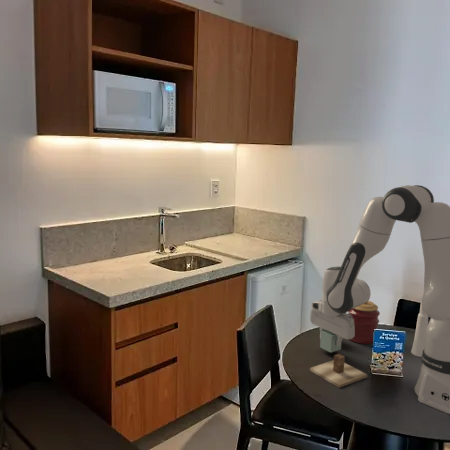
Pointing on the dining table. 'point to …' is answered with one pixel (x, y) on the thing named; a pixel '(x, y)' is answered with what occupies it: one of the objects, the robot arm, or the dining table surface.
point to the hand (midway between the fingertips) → (330, 341)
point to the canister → (365, 322)
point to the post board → (338, 377)
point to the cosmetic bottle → (420, 333)
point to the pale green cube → (328, 341)
